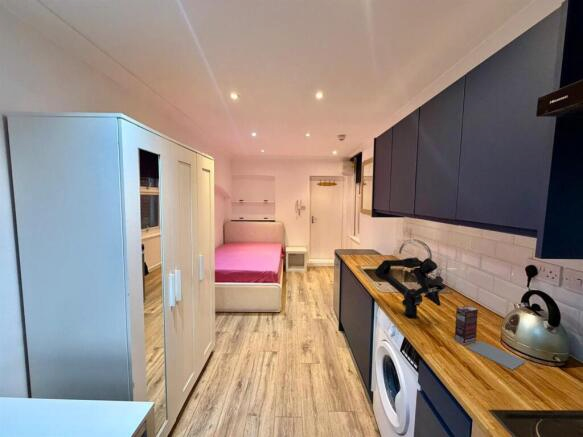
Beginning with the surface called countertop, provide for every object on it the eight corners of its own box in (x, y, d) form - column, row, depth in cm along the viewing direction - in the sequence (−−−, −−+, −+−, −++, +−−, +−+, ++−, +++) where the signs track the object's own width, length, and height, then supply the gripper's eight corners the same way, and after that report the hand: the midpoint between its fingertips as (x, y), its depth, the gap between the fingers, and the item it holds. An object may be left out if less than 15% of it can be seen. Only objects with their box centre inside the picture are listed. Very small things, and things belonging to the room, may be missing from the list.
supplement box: (466, 336, 124) (468, 305, 123) (476, 342, 119) (478, 309, 118) (453, 339, 121) (455, 307, 120) (463, 345, 116) (466, 311, 115)
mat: (465, 347, 114) (465, 347, 114) (480, 341, 120) (480, 340, 120) (512, 370, 99) (512, 369, 99) (526, 362, 105) (526, 361, 105)
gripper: (420, 273, 129) (439, 302, 120) (444, 269, 137) (463, 296, 129) (406, 282, 137) (423, 311, 128) (429, 278, 145) (446, 305, 136)
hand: (439, 305), depth 130 cm, fingers closed
